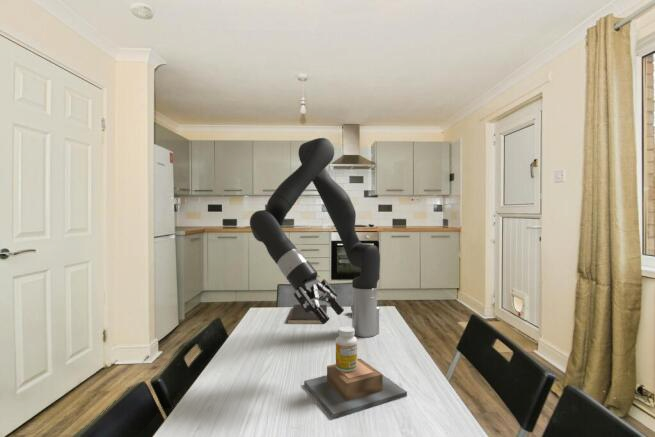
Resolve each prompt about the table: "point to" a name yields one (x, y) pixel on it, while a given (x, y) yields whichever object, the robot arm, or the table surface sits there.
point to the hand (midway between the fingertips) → (334, 317)
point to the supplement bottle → (346, 350)
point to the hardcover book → (304, 315)
